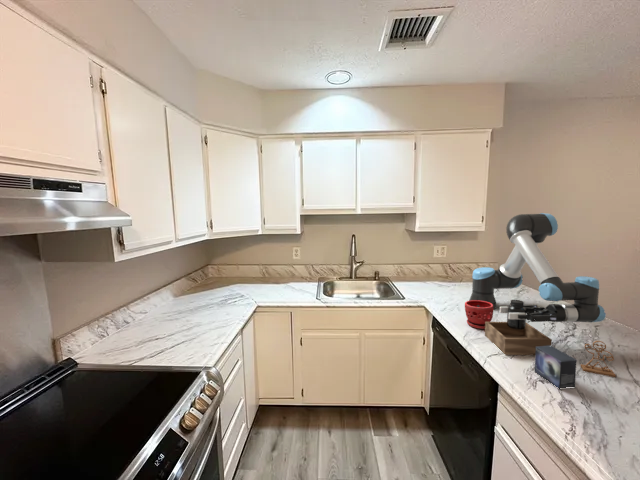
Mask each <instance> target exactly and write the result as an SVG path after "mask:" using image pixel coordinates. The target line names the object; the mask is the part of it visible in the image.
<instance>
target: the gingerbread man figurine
mask: <svg viewBox="0 0 640 480" xmlns="http://www.w3.org/2000/svg"><path fill="white" fill-rule="evenodd" d="M599 343H600V344H599ZM583 346H584V349H585V351H586V352H588V353H589V354H592V358H591V359H590V360H589V361H588V362H587V363H586V364H583V363H580V366H579V367H580V368H581V370H582V371H583V372H584V371H585V372H586V373H591V374H596V375H599V376H606V377H610V378H611V377H612V378H616V377H617V375H616V373H615V372H614V371H613V369H610V368H609V366H608V364H607V363H606V362H605V358H606V360H608V362H613V361H614V359H615V357H614V355H613V354H612V353H611V352H610V351H607V350H606V349H607V345H606V343H605V342H604V341H602V340H595V341H593V342H592V345H591V344H590V343H585V344H584V345H583ZM592 347H593V348H592ZM588 349H592V351H593V350H594V351H595V353H597V356H596V357H595V353H594V352H591V351H589V350H588ZM603 352H604V353H608V354H610V355H609V356H607V355H605V354H603ZM600 353H601V354H603V355H602V358H601V357H600V355H601V354H600ZM594 360H597V361H596V362H595V363H594V364H591V363H592V362H593V361H594ZM599 361H603V362H604V364H605V366H601V364H600V362H599ZM597 365H599V367H598V366H597Z"/></svg>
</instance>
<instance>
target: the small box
mask: <svg viewBox="0 0 640 480" xmlns="http://www.w3.org/2000/svg"><path fill="white" fill-rule="evenodd" d="M577 362H578V360H577V359H576V358H574V357H573V356H570V355H569V354H567V353H566V352H563V351H562V350H560V349H558V348H556V347H554V346H552V344H551V345H548V346H538V347H536V351H535V355H534V373H535V374H536V373H537V374H536V375H538V376H539V375H540V378H542V377H543V378H542V379H543V380H545V379H546V380H548V381H549V382H550V383H549V382H548V381H547V382H548V383H549V384H551V383H552V384H553V385H552V384H551V385H552V386H554V385H555V386H556V387H558V388H559V389H558V388H557V389H558V390H561V389H560V388H566V387H575V388H576V376H577V375H576V373H577ZM546 380H545V381H546ZM555 386H554V387H555ZM556 387H555V388H556Z"/></svg>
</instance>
